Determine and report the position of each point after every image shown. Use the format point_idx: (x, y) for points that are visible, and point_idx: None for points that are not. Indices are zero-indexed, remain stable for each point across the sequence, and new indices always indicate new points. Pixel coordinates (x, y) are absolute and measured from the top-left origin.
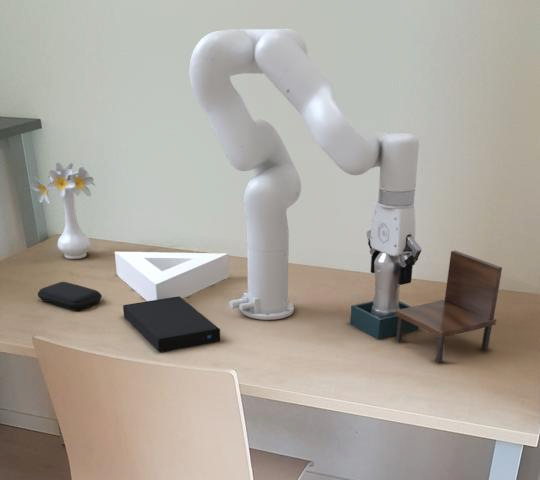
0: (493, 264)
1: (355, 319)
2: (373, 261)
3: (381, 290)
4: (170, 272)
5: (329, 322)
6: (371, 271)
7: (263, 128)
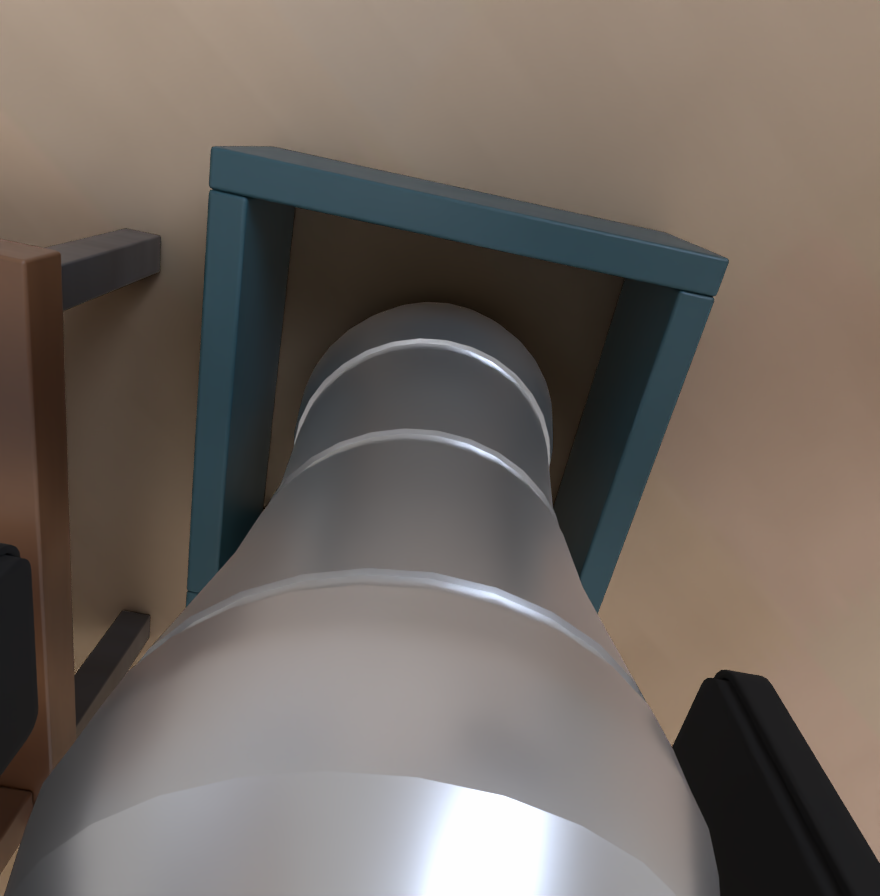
0: None
1: (611, 225)
2: (808, 859)
3: (374, 442)
4: None
5: (845, 120)
6: (749, 683)
7: None
